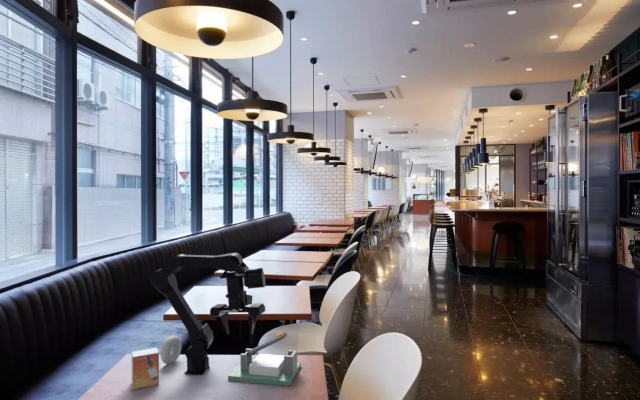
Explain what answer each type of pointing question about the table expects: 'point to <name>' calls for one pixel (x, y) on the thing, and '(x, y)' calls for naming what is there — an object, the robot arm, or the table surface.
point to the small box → (145, 368)
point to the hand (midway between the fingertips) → (239, 334)
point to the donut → (166, 348)
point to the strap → (267, 343)
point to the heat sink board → (261, 378)
